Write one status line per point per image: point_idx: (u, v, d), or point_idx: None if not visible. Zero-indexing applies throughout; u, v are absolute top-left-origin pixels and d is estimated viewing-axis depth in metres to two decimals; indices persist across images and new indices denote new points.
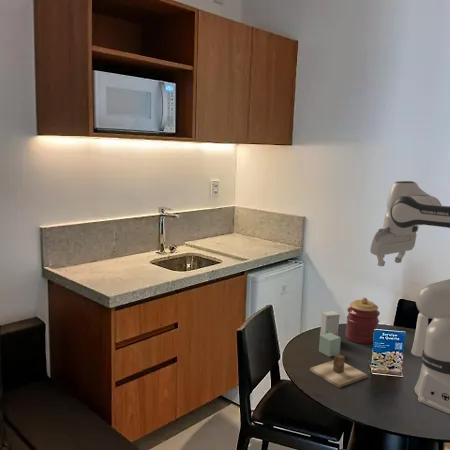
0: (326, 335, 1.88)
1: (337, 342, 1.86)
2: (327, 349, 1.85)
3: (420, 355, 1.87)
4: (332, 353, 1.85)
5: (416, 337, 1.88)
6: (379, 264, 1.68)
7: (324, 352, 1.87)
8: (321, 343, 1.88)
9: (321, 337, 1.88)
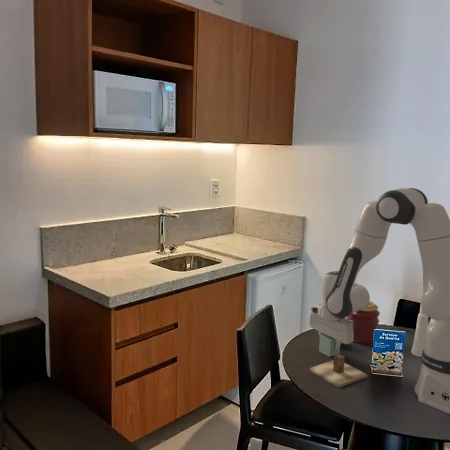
0: (326, 335, 1.88)
1: None
2: (327, 349, 1.85)
3: (420, 355, 1.87)
4: (332, 353, 1.85)
5: (416, 337, 1.88)
6: (337, 349, 1.85)
7: (324, 352, 1.87)
8: (321, 343, 1.88)
9: (321, 337, 1.88)
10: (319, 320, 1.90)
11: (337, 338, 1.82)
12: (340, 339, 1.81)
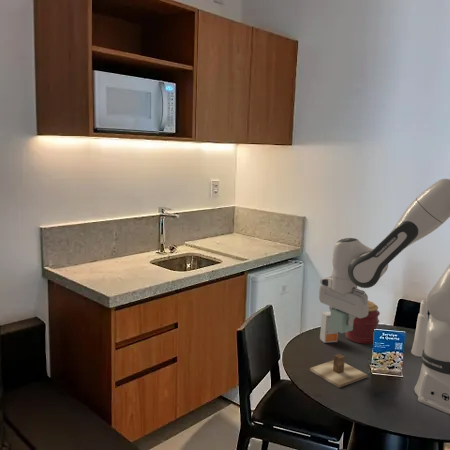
0: (338, 310, 1.70)
1: None
2: (339, 325, 1.67)
3: (420, 355, 1.87)
4: (344, 330, 1.68)
5: (416, 337, 1.88)
6: (350, 324, 1.67)
7: (336, 328, 1.69)
8: (332, 319, 1.70)
9: (332, 312, 1.70)
10: (330, 294, 1.72)
11: (350, 312, 1.64)
12: (353, 313, 1.63)
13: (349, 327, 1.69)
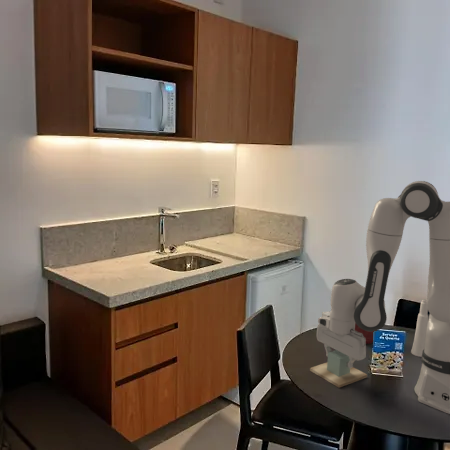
0: (335, 352, 1.71)
1: (347, 360, 1.69)
2: (336, 368, 1.68)
3: (420, 355, 1.87)
4: (341, 373, 1.68)
5: (416, 337, 1.88)
6: (350, 366, 1.66)
7: (333, 371, 1.70)
8: (329, 361, 1.71)
9: (329, 355, 1.70)
10: (327, 333, 1.72)
11: (348, 353, 1.65)
12: (351, 355, 1.63)
13: (346, 370, 1.70)
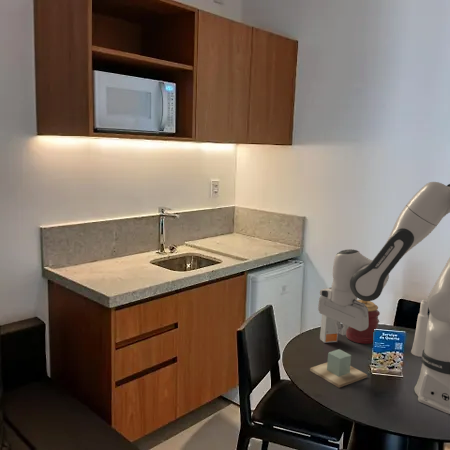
0: (335, 352, 1.71)
1: (347, 360, 1.69)
2: (336, 368, 1.68)
3: (420, 355, 1.87)
4: (341, 373, 1.68)
5: (416, 337, 1.88)
6: (344, 333, 1.68)
7: (333, 371, 1.70)
8: (329, 361, 1.71)
9: (329, 355, 1.70)
10: (329, 305, 1.70)
11: (350, 324, 1.63)
12: (353, 325, 1.61)
13: (346, 370, 1.70)
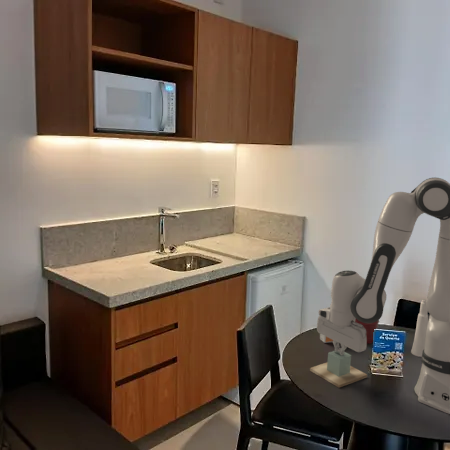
0: None
1: (347, 360, 1.69)
2: (336, 368, 1.68)
3: (420, 355, 1.87)
4: (341, 373, 1.68)
5: (416, 337, 1.88)
6: (342, 353, 1.69)
7: (333, 371, 1.70)
8: (329, 361, 1.71)
9: (329, 355, 1.70)
10: (328, 325, 1.72)
11: (348, 345, 1.64)
12: (351, 346, 1.63)
13: (346, 370, 1.70)
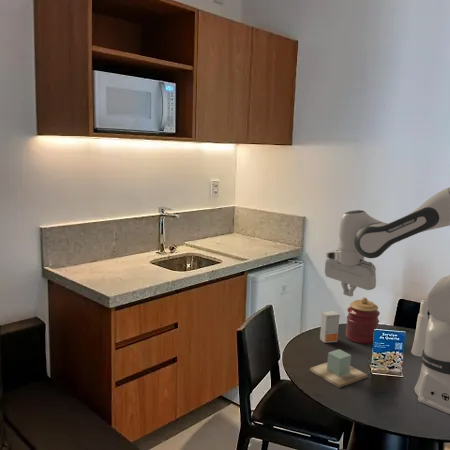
0: (335, 352, 1.71)
1: (347, 360, 1.69)
2: (336, 368, 1.68)
3: (420, 355, 1.87)
4: (341, 373, 1.68)
5: (416, 337, 1.88)
6: (351, 295, 1.68)
7: (333, 371, 1.70)
8: (329, 361, 1.71)
9: (329, 355, 1.70)
10: (336, 267, 1.71)
11: (357, 284, 1.63)
12: (361, 285, 1.62)
13: (346, 370, 1.70)
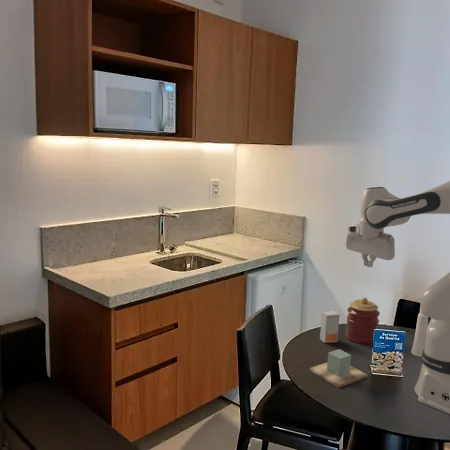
0: (335, 352, 1.71)
1: (347, 360, 1.69)
2: (336, 368, 1.68)
3: (420, 355, 1.87)
4: (341, 373, 1.68)
5: (416, 337, 1.88)
6: (370, 265, 1.81)
7: (333, 371, 1.70)
8: (329, 361, 1.71)
9: (329, 355, 1.70)
10: (357, 240, 1.83)
11: (377, 255, 1.76)
12: (380, 255, 1.74)
13: (346, 370, 1.70)
